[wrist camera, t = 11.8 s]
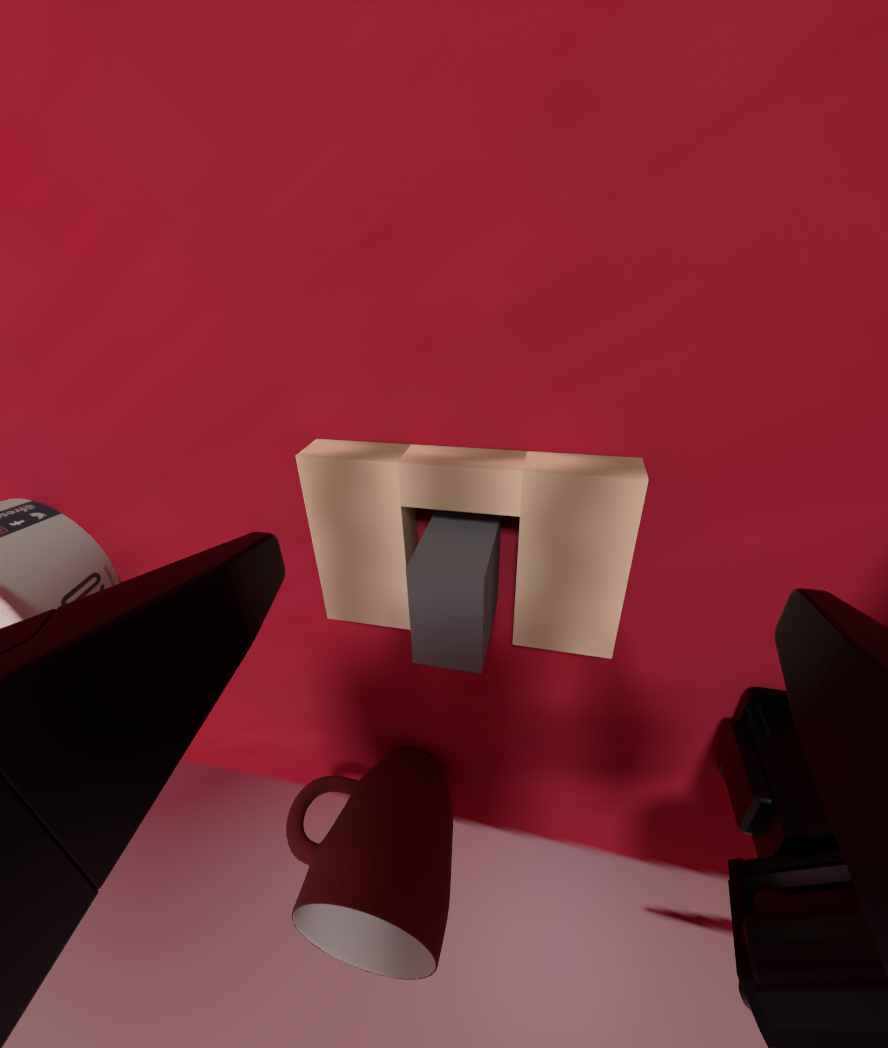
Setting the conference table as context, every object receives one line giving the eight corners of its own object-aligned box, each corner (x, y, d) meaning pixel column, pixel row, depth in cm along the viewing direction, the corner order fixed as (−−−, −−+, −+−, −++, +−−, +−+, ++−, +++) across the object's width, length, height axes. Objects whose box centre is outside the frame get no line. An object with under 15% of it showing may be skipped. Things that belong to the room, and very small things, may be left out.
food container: (-62, 457, 29) (-212, 510, 23) (116, 503, 27) (1, 570, 22) (9, 607, 35) (-95, 676, 30) (157, 650, 34) (76, 731, 28)
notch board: (642, 458, 19) (648, 479, 17) (609, 628, 24) (611, 658, 22) (316, 438, 22) (295, 455, 20) (343, 594, 27) (327, 618, 25)
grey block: (501, 512, 22) (484, 578, 18) (497, 598, 24) (481, 674, 20) (437, 506, 22) (405, 568, 18) (440, 591, 25) (412, 662, 21)
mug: (330, 773, 36) (257, 933, 28) (325, 705, 32) (237, 869, 24) (466, 812, 35) (432, 994, 27) (480, 745, 31) (444, 938, 22)
